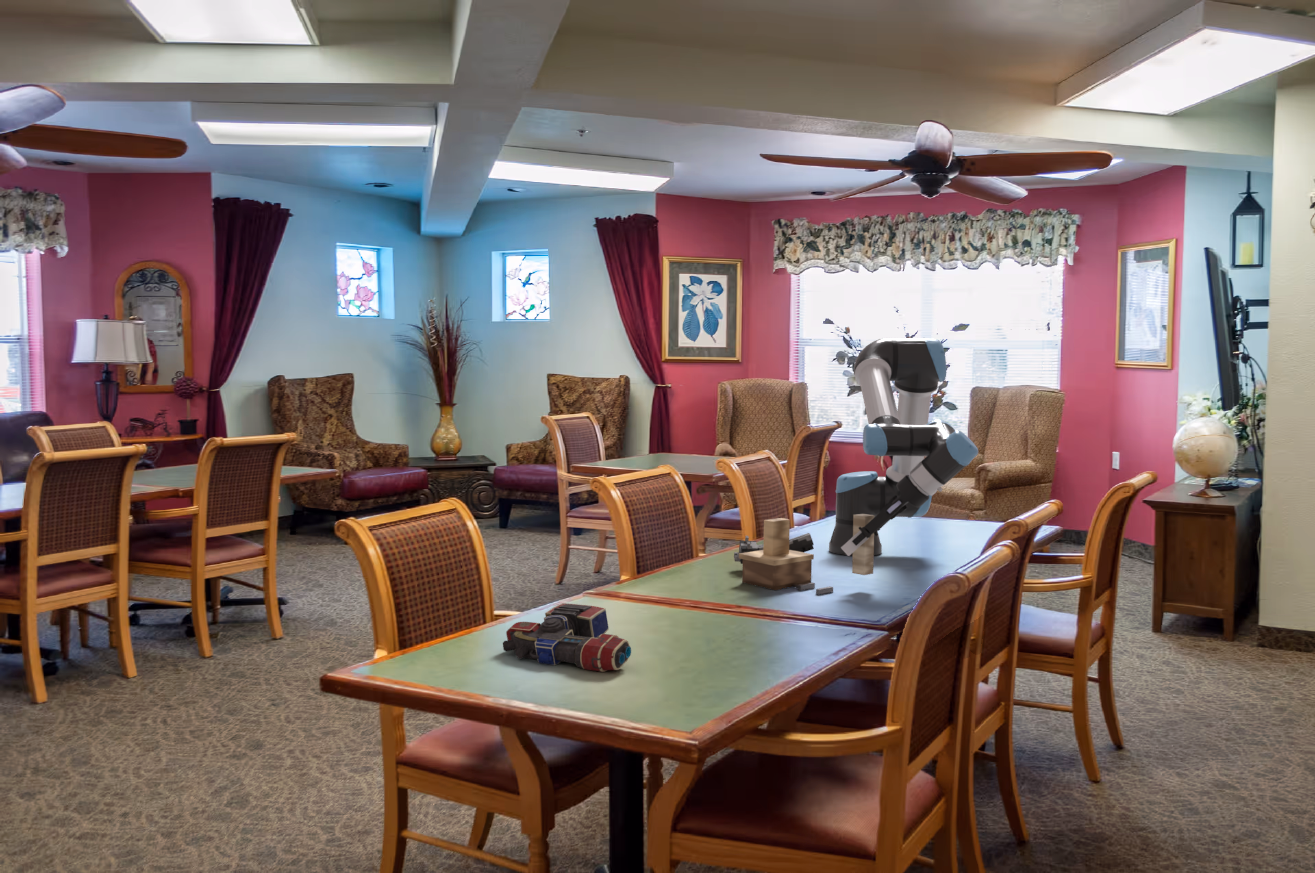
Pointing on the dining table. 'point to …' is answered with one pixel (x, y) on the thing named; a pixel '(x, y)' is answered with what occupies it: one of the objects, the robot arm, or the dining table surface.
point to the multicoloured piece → (570, 639)
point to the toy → (795, 544)
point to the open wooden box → (776, 574)
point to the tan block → (863, 547)
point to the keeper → (812, 585)
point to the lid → (776, 545)
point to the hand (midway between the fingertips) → (847, 549)
